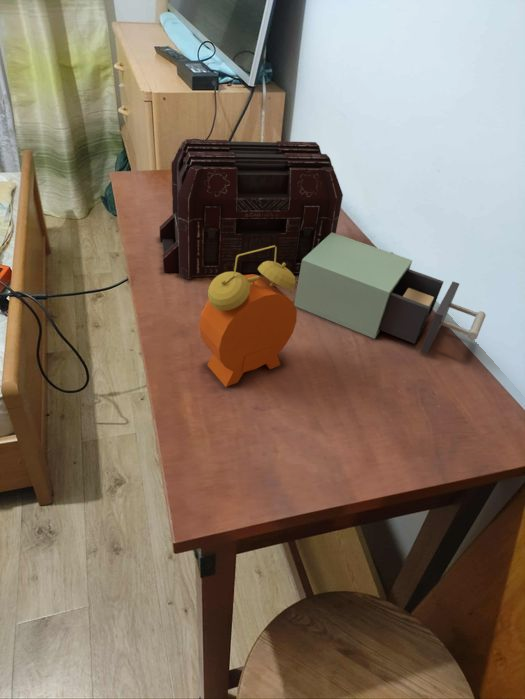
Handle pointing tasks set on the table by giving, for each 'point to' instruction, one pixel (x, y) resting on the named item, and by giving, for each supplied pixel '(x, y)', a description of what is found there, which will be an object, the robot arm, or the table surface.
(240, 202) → the crate
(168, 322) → the table surface
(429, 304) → the block
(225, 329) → the alarm clock
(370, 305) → the cabinet
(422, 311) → the drawer
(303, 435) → the table surface
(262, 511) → the table surface
